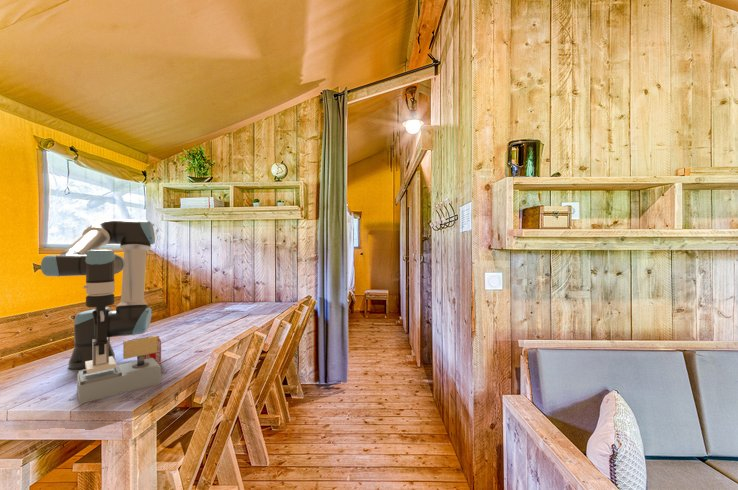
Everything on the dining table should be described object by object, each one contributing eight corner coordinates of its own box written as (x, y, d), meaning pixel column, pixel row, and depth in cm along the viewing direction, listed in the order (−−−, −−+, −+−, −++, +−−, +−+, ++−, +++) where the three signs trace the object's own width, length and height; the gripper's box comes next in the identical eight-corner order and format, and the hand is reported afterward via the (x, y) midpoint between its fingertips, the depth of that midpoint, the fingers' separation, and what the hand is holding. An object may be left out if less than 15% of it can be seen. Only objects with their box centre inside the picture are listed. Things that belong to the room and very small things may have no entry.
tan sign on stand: (123, 367, 113) (123, 340, 113) (156, 360, 120) (156, 335, 120) (124, 369, 111) (124, 342, 112) (157, 362, 118) (157, 336, 119)
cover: (85, 365, 109) (85, 338, 109) (112, 360, 114) (112, 334, 114) (87, 374, 102) (87, 345, 102) (116, 367, 107) (116, 340, 107)
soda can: (150, 370, 127) (150, 340, 127) (136, 368, 128) (136, 339, 129) (165, 363, 134) (165, 335, 134) (151, 362, 135) (151, 334, 136)
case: (77, 390, 109) (77, 370, 109) (152, 372, 124) (152, 355, 124) (79, 404, 99) (79, 382, 99) (161, 383, 114) (161, 364, 114)
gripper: (84, 292, 111) (84, 358, 111) (87, 298, 99) (87, 371, 99) (111, 290, 117) (111, 352, 117) (117, 295, 105) (117, 365, 105)
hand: (100, 361), depth 108 cm, fingers closed on cover, 4 cm apart
